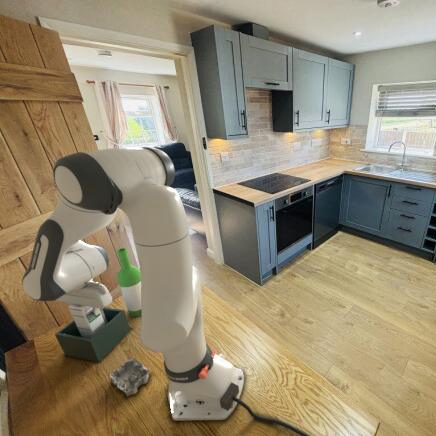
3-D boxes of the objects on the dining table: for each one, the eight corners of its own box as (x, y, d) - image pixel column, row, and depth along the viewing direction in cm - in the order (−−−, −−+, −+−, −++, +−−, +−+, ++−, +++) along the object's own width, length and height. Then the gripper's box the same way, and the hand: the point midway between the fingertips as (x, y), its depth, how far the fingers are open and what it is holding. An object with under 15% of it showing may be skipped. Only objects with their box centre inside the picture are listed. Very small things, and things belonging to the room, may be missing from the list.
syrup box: (95, 341, 82) (82, 308, 76) (81, 337, 83) (67, 305, 77) (110, 327, 87) (98, 296, 82) (96, 325, 88) (84, 294, 83)
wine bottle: (139, 302, 105) (121, 243, 93) (154, 305, 104) (138, 246, 92) (124, 315, 98) (103, 253, 86) (140, 319, 97) (121, 256, 85)
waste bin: (130, 329, 92) (124, 310, 88) (99, 362, 80) (90, 341, 76) (100, 324, 94) (93, 305, 90) (65, 355, 82) (54, 334, 78)
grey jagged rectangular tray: (109, 381, 74) (105, 373, 73) (134, 362, 80) (131, 353, 79) (128, 400, 69) (124, 391, 68) (153, 378, 75) (150, 369, 74)
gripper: (111, 277, 77) (121, 309, 83) (58, 269, 80) (72, 301, 86) (93, 290, 72) (105, 324, 77) (37, 281, 75) (53, 314, 80)
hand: (87, 312), depth 81 cm, fingers closed on syrup box, 6 cm apart
